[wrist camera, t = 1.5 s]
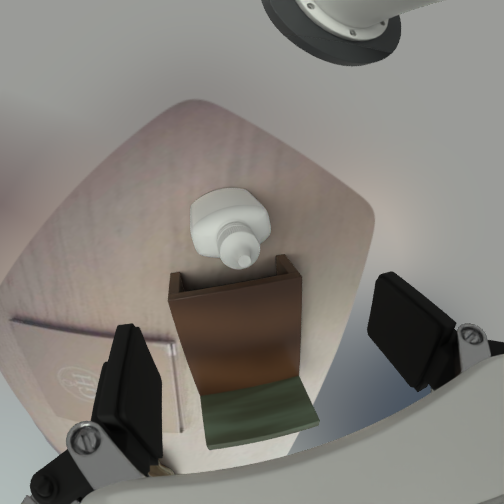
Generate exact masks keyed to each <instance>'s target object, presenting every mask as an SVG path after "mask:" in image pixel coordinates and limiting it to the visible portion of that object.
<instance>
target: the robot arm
mask: <svg viewBox="0 0 504 504" xmlns="http://www.w3.org/2000/svg"><path fill="white" fill-rule="evenodd" d="M295 1H296V2H297V4H298V5H299V7H300V9H301V10H302V11H303V12H304V13H305V14H306V15H307V17H308V18H310V19H311V20H312V21H313V22H314V23H315V24H317V25H318V26H319V27H321V28H322V29H324V30H325V31H327V32H329V33H331V34H333V35H335V36H337V37H340V38H342V39H346V40H350V41H360V42H361V41H368V40H371V39H374V38H376V37H378V36H380V35H381V34H382V33H383V32H384V31H385V29H386V27H387V25H388V20H389V18H392V17H394V16H397V15H400V14H402V13H405V12H408V11H411V10H414V9H417V8H420V7H423V6H426V5H430V4H433V3H436V2H440V1H444V0H295ZM455 325H456V322H455V321H454V320H453V319H451V318H450V317H449V316H448V315H447V314H446V313H444V312H443V311H442V310H441V309H439V308H438V307H437V306H436V305H435V304H433V303H432V302H431V301H430V300H429V299H427V298H426V297H425V296H424V295H422V294H421V293H420V292H419V291H417V290H416V289H415V288H414V287H412V286H411V285H410V284H409V283H407V282H406V281H405V280H403V279H402V278H401V277H399V276H398V275H397V274H396V273H394V272H387V273H383V274H381V275H379V277H378V279H377V280H376V283H375V289H374V295H373V301H372V307H371V312H370V317H369V322H368V327H367V332H368V335H369V337H370V338H371V339H372V340H373V341H374V343H375V344H376V345H377V346H378V347H379V349H380V350H381V351H382V352H383V354H384V355H385V356H386V357H387V359H388V360H389V361H390V362H391V363H392V364H393V366H394V367H395V368H396V370H397V371H398V372H399V373H400V374H401V376H402V377H403V378H404V379H405V381H406V382H407V383H408V384H409V386H410V387H414V388H415V389H416V391H417V392H419V391H421V390H422V389H424V388H426V387H427V386H428V384H429V385H430V386H431V393H430V394H429V395H427V396H426V397H424V398H422V399H420V400H419V401H417V402H415V403H413V404H412V405H410V406H408V407H406V408H404V409H403V410H401V411H399V412H397V413H395V414H393V415H391V416H389V417H387V418H385V419H383V420H381V421H379V422H377V423H375V424H373V425H371V426H368V427H366V428H363V429H361V430H359V431H356V432H354V433H352V434H349V435H347V436H344V437H342V438H339V439H336V440H334V441H331V442H328V443H326V444H323V445H320V446H317V447H314V448H311V449H308V450H304V451H302V452H298V453H295V454H291V455H287V456H284V457H280V458H276V459H272V460H268V461H264V462H259V463H255V464H250V465H245V466H239V467H234V468H228V469H222V470H215V471H208V472H200V473H191V474H180V475H169V476H157V477H151V476H150V475H149V474H148V473H149V472H150V466H159V458H162V457H163V446H162V380H161V376H160V374H159V372H158V370H157V367H156V365H155V363H154V361H153V359H152V356H151V354H150V352H149V349H148V347H147V345H146V342H145V340H144V337H143V335H142V332H141V330H140V328H139V327H135V326H134V324H124V325H118V326H117V329H116V332H115V336H114V340H113V343H112V347H111V351H110V355H109V359H108V362H105V363H104V364H103V366H102V370H101V374H100V379H99V383H98V387H97V392H96V397H95V401H94V406H93V412H92V417H91V421H83V422H80V423H77V424H75V425H74V426H73V427H72V428H71V429H70V431H69V432H68V434H67V438H66V445H67V448H68V449H67V450H66V451H65V452H63V453H62V454H61V455H59V456H58V457H57V458H55V459H54V460H53V461H51V462H50V463H49V464H47V465H46V466H45V467H44V468H42V469H40V470H39V471H38V472H36V474H34V475H33V477H32V479H31V483H30V489H31V493H32V495H31V496H28V495H27V496H26V497H25V498H24V500H23V502H22V503H21V504H504V342H498V341H491V340H487V336H486V334H485V332H484V331H483V330H482V329H481V328H480V327H478V326H476V325H474V324H470V323H469V324H468V323H465V324H462V325H461V326H460V327H458V330H457V331H456V330H455V329H454V328H455Z"/></svg>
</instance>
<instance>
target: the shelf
mask: <svg viewBox="0 0 504 504" xmlns="http://www.w3.org/2000/svg"><path fill="white" fill-rule="evenodd" d="M276 264H277V276H273V277H268V278H262V279H257V280H251V281H246V282H240V283H234V284H229V285H223V286H217V287H211V288H205V289H199V290H193V291H187V292H184V288H183V283H182V279H181V275H180V272H176V273H171V274H170V283H169V293H168V303H169V306H170V310H171V313H172V316H173V320H174V323H175V326H176V329H177V332H178V336H179V339H180V342H181V345H182V348H183V351H184V354H185V356H186V359H187V362H188V365H189V368H190V371H191V373H192V376H193V379H194V381H195V384H196V387H197V389H198V392H199V394H200V399H201V408H202V416H203V424H204V431H205V438H206V445H207V447H208V449H209V450H213V449H221V448H227V447H233V446H239V445H244V444H250V443H255V442H259V441H264V440H268V439H272V438H277V437H281V436H284V435H288V434H292V433H295V432H299V431H302V430H306V429H309V428H312V427H315V426H318V425H319V422H320V420H319V418H318V416H317V413H316V411H315V409H314V407H313V405H312V403H311V401H310V399H309V396H308V394H307V392H306V390H305V388H304V386H303V383H302V381H301V379H300V377H299V366H300V343H301V311H302V276H301V275H300V273H299V272H298V271H297V270H296V268H295V267H294V266H293V264H292V263H291V262H290V260H289V259H288V258H287V257H286V255H285V254H284V255H278V256H276Z"/></svg>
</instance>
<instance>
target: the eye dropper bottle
mask: <svg viewBox="0 0 504 504" xmlns="http://www.w3.org/2000/svg"><path fill="white" fill-rule="evenodd" d="M190 231H191V237H192V240H193V243H194V246H195V249H196V251H197V252H198V254H200V255H202V256H206V257H214V258H221V260H222V261H223V263H224V264H225V265H227V266H229V267H231V268H233V269H244V268H247V267H249V266H251V265H252V264H253V263H254V262H255V261H256V260H257V258H258V257H259V256H258V255H259V253H260V244H261V243H262V242H263V241H265V240H266V239H267V238H268V237H269V235H270V234H271V225H270V220H269V215H268V212H267V211H266V209H265V208H264V206H263V205H262V204H261V203H260V202H259V201H258V200H257V199H256V198H255V197H254V196H253V195H252V194H251V193H250V192H249V191H247V190H246V189H242V188H222V189H217V190H214V191H211V192H209V193H207V194H205V195H203V196H201V197H200V198H198V199H197V200H196V201H194V202H193V203H192V205H191V206H190Z"/></svg>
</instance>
